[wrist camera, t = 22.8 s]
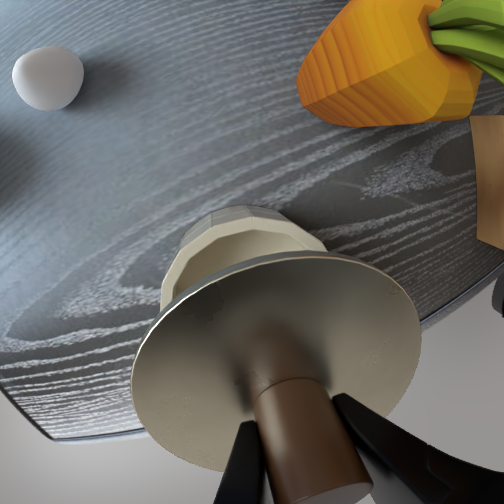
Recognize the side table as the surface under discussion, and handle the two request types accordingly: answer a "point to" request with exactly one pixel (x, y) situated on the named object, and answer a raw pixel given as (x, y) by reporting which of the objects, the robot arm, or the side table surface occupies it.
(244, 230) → the pot
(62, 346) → the side table surface
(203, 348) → the lid
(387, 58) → the carrot
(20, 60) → the egg
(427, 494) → the robot arm
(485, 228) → the stand
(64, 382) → the side table surface
